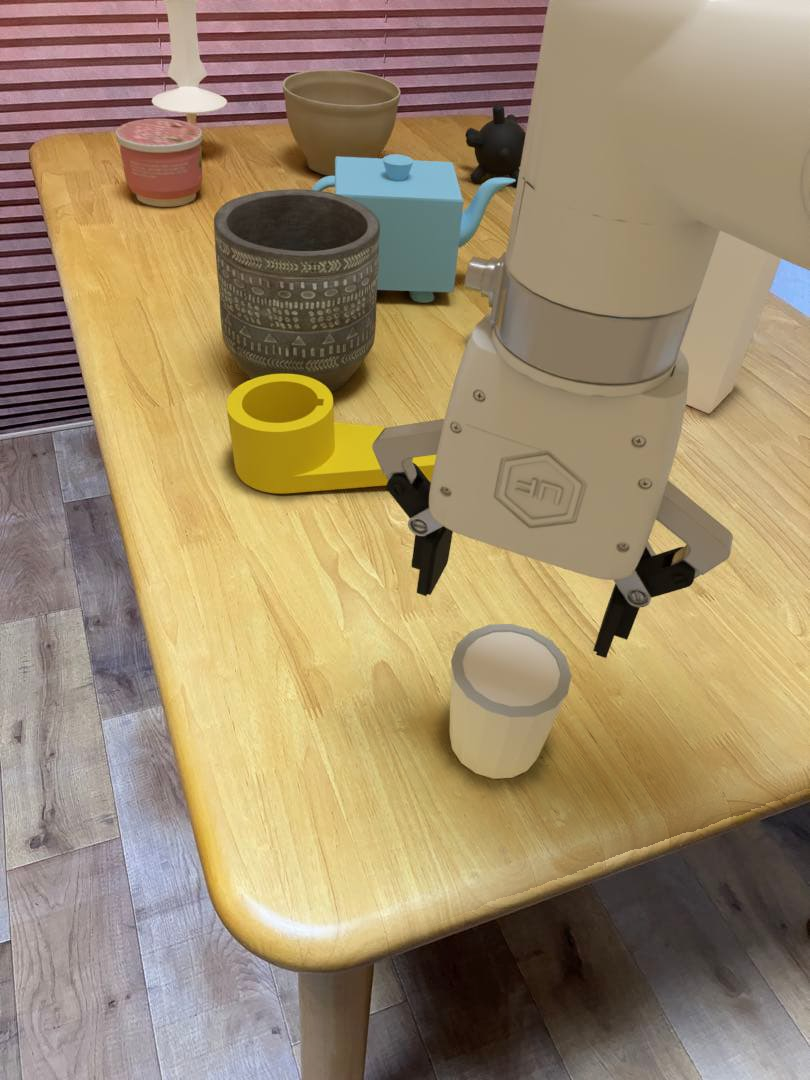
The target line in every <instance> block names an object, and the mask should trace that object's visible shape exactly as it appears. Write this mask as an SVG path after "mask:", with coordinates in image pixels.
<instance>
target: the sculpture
mask: <svg viewBox="0 0 810 1080" xmlns="http://www.w3.org/2000/svg"><path fill="white" fill-rule="evenodd" d="M198 1H199V0H163V3H164V5H165V8H166V14H167V20H168V29H169V41H170V53H171V54H170V55H171V60H170V63H169V66H168V70H167V73H166V76H168V77H169V78H170V79H172V80H173V81H174V82H175V83H176V85H177V86H178V87H175V88H172V89H169V90H166V91H163V92H161V93H158V94H156V95H155V96H153V97H152V99H151V104H152V105H153V106H154V107H155V108H156V109H157V108H158V109H159V110H162V111H165V112H169V113H177V114H185V117H186V122H188V123H191V124H193V125H195V126H197V115H198V114H206V113H212V112H217V111H219V110H222V109H224V108H226V107H227V105H228V100H227V99H226V98H225V97H224V96H222V95H221V94H217V93H215V92H212V91H209V90H206V89H204V88H201V87H199V84H200V82H202V80H204V79H205V78H206V77H207V76H208V75H209V74H208V72H207V70H206V68H205V65H204V63H203V61H202V60H201V57H200V48H199V37H198V25H197V5H198ZM197 127H198V126H197Z"/></svg>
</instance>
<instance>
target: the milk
mask: <svg viewBox="0 0 810 1080" xmlns="http://www.w3.org/2000/svg"><path fill="white" fill-rule="evenodd" d="M781 262H782V259H781V258H779V257H777V256H775V255H772V254H770V253H768V252H766V251H764V250H762V249H759V248H757V247H755V246H753V245H751V244H749V243H747V242H744V241H742V240H740V239H738V238H736V237H734V236H732V235H729V234H727V233H725V232H722V231H720V232H719V235H718V238H717V241H716V244H715V247H714V250H713V253H712V256H711V259H710V262H709V265H708V268H707V271H706V274H705V277H704V280H703V283H702V286H701V289H700V291H699V294H698V296H697V299H696V302H695V305H694V308H693V311H692V314H691V317H690V320H689V323H688V326H687V329H686V332H685V335H684V338H683V341H682V344H681V347H680V350H681V351H682V353H683V354H684V355H685V357H686V359H687V361H688V366H689V373H688V388H687V399H686V406H689V407H691V408H693V409H696V410H698V411H700V412H703V413H706V414H708V415H710V414H711V413H712V412H713V411H714V410H715V409H716V408H717V407H718V406H719V405H720V404H721V403H722V402H723V401H724V399H726V398H727V396H728V395H730V394H731V392H733V390H734V388H735V385H736V382H737V379H738V377H739V374H740V372H741V370H742V366H743V364H744V361H745V358H746V356H747V353H748V351H749V347H750V345H751V341H752V340H753V337H754V334H755V332H756V328H757V326H758V323H759V320H760V317H761V315H762V312H763V310H764V307H765V305H766V302H767V299H768V296H769V293H770V291H771V288H772V287H773V286H772V285H773V283H774V280H775V277H776V275H777V272H778V269H779V266H780V265H781Z"/></svg>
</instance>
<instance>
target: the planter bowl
mask: <svg viewBox="0 0 810 1080" xmlns="http://www.w3.org/2000/svg"><path fill="white" fill-rule="evenodd" d="M282 92H283V95H284V104H285V114H286V119H287V122H288V125H289V128H290V131H291V133H292V136H293V139H294V141H295V143H296V145H297V146H298V148H299V149H300V151H301V152H302V154H303V155H304V156H305V159H306V165H307V167H308V168H309V169H310V170H311V171H313V172H315V173H317V174H320V175H324V176H326V177H327V176H335V158H336V157H359V158H379V156H380V155H381V154H382V152H383V151H384V149H385V148H386V146H387V144H388V143H389V141H390V137H391V136H392V134H393V130H394V128H395V124H396V120H397V114H398V106H399V102H400V99H401V88H400V87H399V85H397V84H396V83H394V82H393V81H391V80H390V79H387V78H385V77H382V76H378V75H375V74H371V73H366V72H360V71H354V70H342V69H315V70H305V71H299V72H297V73H294V74H291V75H289V76H287V77H286V78H284V80H283V81H282Z"/></svg>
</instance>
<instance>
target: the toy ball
mask: <svg viewBox="0 0 810 1080" xmlns="http://www.w3.org/2000/svg"><path fill="white" fill-rule="evenodd" d="M505 114H506V113H505V107H504V105H503V104H500V103H497V104H495V105H494V106H493V107H492V120H490V121H488V122H487V123H485V124H484V125H483V126H482V127H481V129H480V130H478V129H475V128H473V127H470V128H468V129H467V130H466V131H465V134H464V135H465V144H466V145H467V147H469V148H472V149H473V148H474V156H475V159H476V161H477V164H478V165H477V166H476V167H475V169H474V170H473V171H472V172H471V174H470V180H471V181H472V182H473V183H476V184H478V183H480V182H481V181H482V180H483V178H484V177H485V176H486V175H487V174H489V175H491V176H495V177H506V176H509V178H512V179H515V180H516V181H515V182H513V183H512V184H513V186H514V187H516V188H517V183H518V177H519V171H520V165H521V159H522V153H523V147H524V141H525V136H526V131H525V130H524V129H523V127H522V126H521V125H520V124H519V123H518V122H517V120H518V119H517V117H516V115H515V114H511V113H510V114H507V115H506V117H505Z"/></svg>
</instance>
